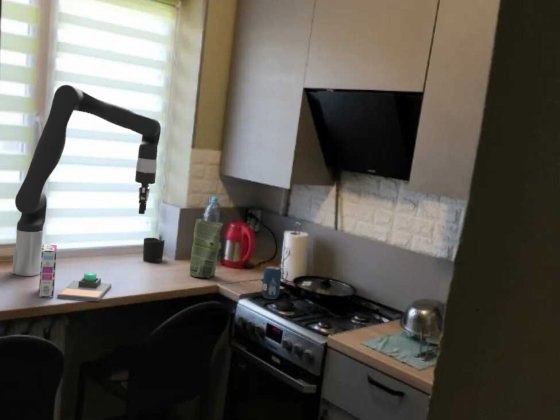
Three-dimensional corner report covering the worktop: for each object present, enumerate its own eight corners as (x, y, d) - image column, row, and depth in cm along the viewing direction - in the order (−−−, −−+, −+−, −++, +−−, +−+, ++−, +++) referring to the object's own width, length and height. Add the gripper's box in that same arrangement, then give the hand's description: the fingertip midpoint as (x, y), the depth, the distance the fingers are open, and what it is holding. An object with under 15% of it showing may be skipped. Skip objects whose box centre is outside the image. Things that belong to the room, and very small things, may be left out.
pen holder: (143, 262, 258) (144, 241, 256) (141, 258, 266) (142, 237, 265) (164, 263, 261) (165, 242, 259) (161, 258, 270) (163, 238, 268)
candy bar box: (54, 297, 195) (56, 251, 193) (38, 298, 193) (40, 250, 191) (54, 288, 205) (57, 244, 203) (39, 288, 203) (42, 243, 201)
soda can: (271, 293, 230) (274, 264, 229) (282, 298, 225) (285, 268, 223) (257, 295, 225) (261, 265, 224) (269, 300, 220) (272, 270, 219)
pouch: (188, 272, 249) (193, 216, 246) (214, 273, 253) (220, 218, 250) (191, 279, 239) (196, 220, 236) (219, 280, 242) (224, 222, 239)
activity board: (57, 298, 195) (57, 289, 195) (73, 283, 214) (73, 275, 213) (98, 301, 196) (99, 292, 196) (111, 286, 215) (111, 278, 215)
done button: (82, 281, 208) (82, 275, 207) (85, 278, 212) (86, 272, 212) (94, 282, 208) (94, 276, 208) (97, 279, 212) (97, 273, 212)
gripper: (137, 168, 223) (133, 208, 225) (134, 171, 209) (130, 214, 211) (156, 170, 225) (152, 210, 227) (155, 173, 211) (151, 216, 213)
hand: (142, 212), depth 219 cm, fingers open, 8 cm apart
